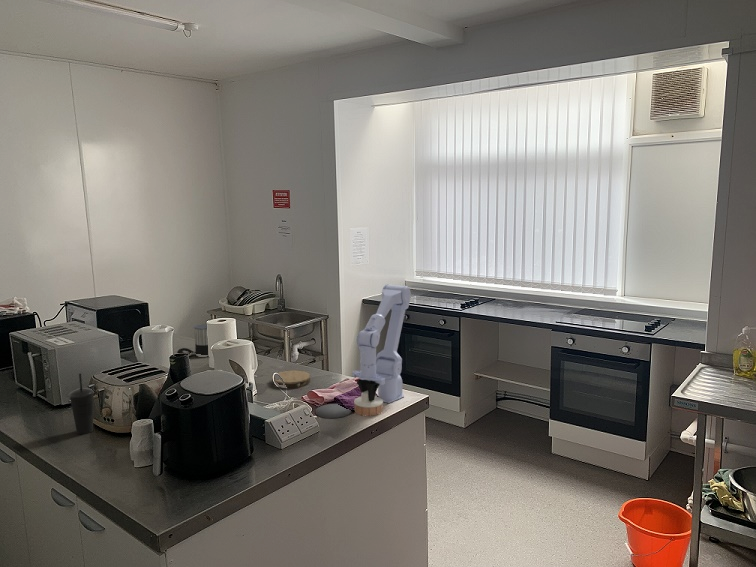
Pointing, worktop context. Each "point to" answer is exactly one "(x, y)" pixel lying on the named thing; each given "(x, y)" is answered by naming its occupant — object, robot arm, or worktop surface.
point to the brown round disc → (293, 379)
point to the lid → (367, 401)
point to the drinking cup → (82, 408)
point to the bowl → (368, 410)
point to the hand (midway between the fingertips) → (368, 399)
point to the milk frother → (199, 340)
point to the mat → (332, 411)
